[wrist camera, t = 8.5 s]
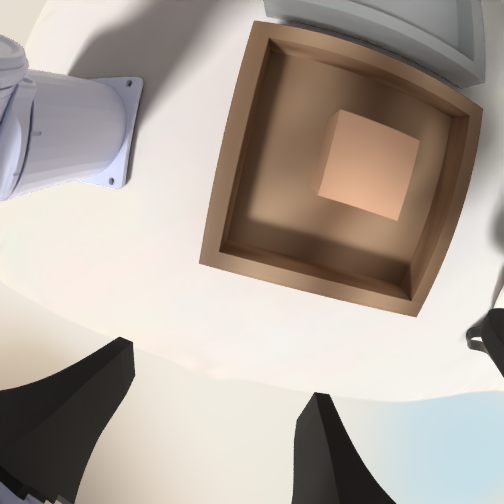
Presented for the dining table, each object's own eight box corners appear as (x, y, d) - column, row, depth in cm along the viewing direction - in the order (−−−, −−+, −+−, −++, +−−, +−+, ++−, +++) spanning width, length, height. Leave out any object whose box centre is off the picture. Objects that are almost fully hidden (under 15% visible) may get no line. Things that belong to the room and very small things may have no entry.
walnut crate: (212, 245, 18) (199, 263, 15) (259, 40, 13) (254, 20, 10) (401, 295, 18) (416, 317, 15) (458, 112, 13) (482, 108, 10)
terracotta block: (310, 184, 15) (317, 195, 12) (327, 119, 14) (340, 109, 10) (373, 204, 15) (397, 220, 11) (390, 142, 14) (419, 140, 10)
